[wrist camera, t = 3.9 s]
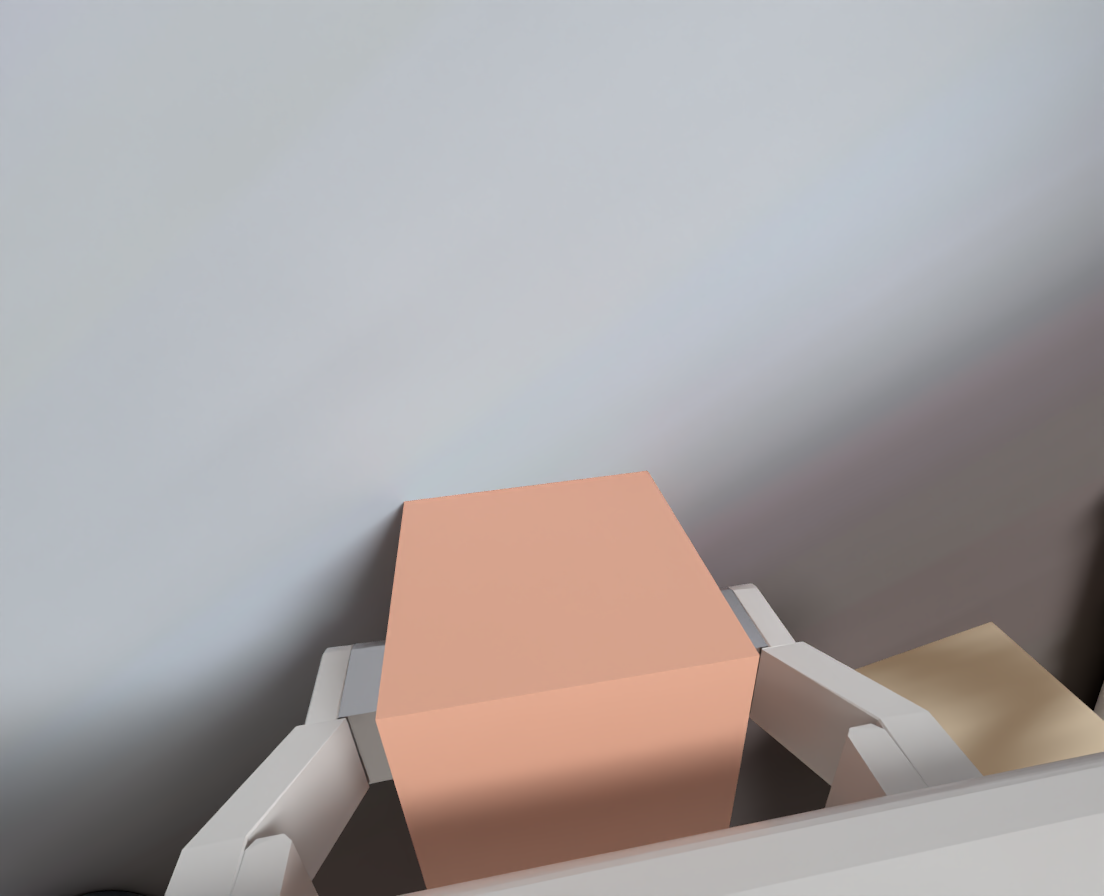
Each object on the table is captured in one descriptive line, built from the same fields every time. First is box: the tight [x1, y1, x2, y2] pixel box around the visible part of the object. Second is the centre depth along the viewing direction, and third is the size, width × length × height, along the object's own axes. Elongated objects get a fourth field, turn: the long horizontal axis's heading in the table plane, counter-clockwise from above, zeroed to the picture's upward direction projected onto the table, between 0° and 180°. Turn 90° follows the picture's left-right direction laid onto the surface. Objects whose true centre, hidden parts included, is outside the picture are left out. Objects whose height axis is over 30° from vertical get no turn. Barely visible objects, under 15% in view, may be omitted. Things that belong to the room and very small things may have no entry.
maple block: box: [855, 622, 1104, 776], centre depth 15 cm, size 5×5×5 cm
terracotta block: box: [375, 471, 760, 889], centre depth 11 cm, size 5×5×5 cm
